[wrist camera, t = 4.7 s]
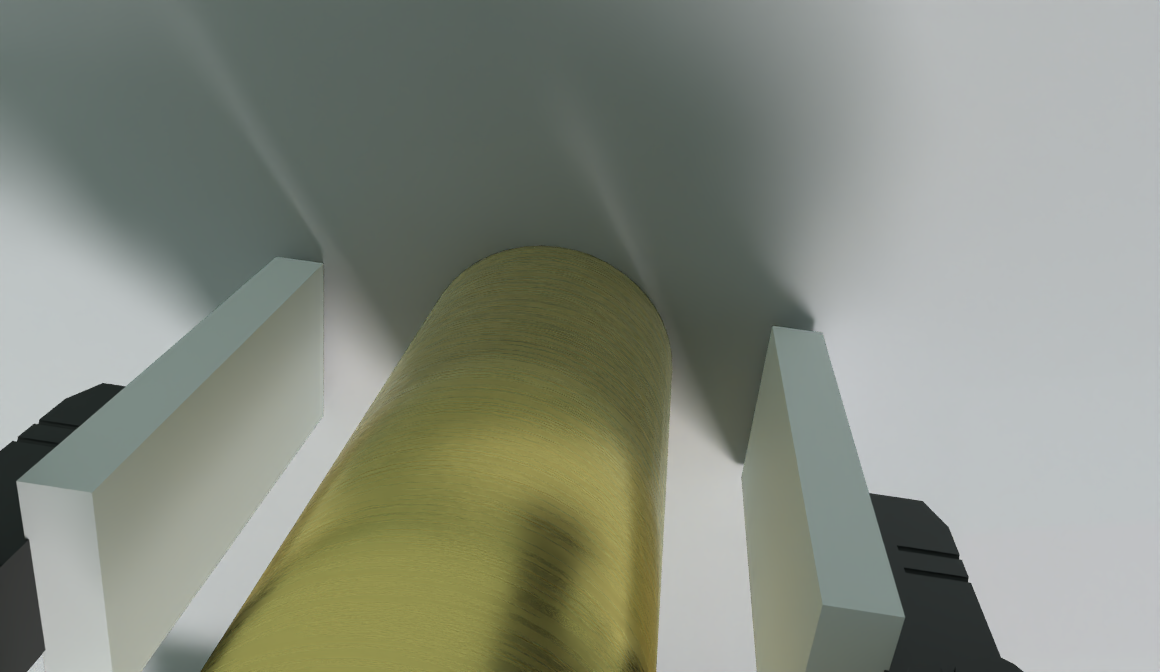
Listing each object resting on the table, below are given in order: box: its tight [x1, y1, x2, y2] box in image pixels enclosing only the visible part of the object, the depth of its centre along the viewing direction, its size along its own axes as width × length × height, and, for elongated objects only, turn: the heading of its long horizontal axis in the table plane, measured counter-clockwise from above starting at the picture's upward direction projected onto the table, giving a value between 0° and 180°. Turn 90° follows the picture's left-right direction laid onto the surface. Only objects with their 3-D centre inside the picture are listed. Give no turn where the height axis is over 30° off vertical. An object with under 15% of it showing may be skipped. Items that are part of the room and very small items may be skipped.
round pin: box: [201, 246, 672, 672], centre depth 11 cm, size 4×4×10 cm
